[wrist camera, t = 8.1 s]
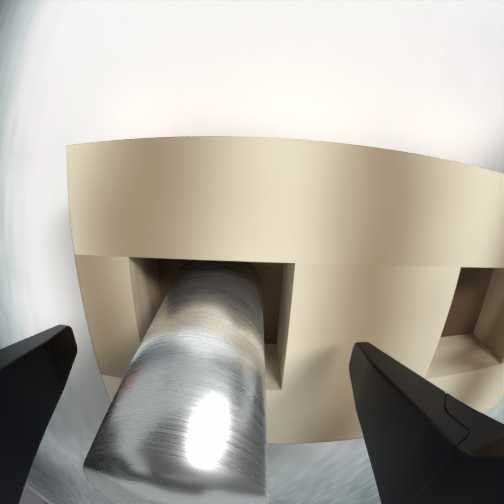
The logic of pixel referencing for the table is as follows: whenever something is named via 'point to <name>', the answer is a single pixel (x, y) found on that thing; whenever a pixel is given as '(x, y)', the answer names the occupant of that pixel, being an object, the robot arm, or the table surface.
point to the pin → (191, 398)
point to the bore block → (300, 261)
